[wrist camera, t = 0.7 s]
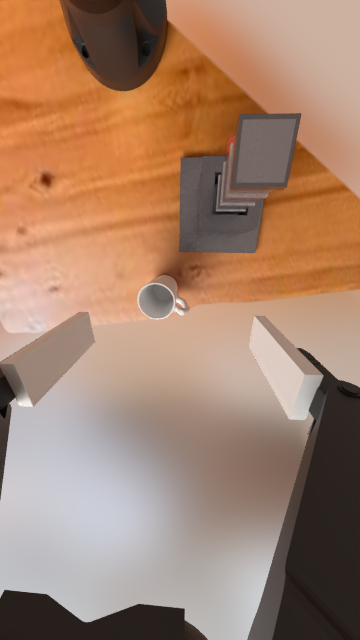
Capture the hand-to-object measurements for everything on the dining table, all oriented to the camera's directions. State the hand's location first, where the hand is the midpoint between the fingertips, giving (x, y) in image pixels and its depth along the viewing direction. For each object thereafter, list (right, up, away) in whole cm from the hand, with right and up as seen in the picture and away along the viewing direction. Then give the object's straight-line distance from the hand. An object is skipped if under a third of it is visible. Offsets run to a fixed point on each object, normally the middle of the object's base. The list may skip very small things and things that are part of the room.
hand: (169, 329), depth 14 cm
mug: (-1, +8, +29) cm, 30 cm away
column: (+9, +22, +21) cm, 32 cm away
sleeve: (+9, +23, +22) cm, 33 cm away
